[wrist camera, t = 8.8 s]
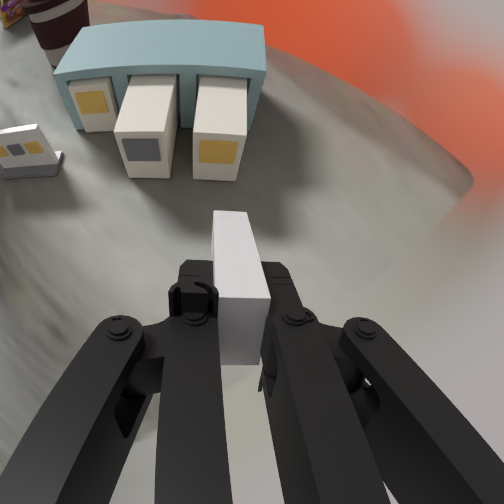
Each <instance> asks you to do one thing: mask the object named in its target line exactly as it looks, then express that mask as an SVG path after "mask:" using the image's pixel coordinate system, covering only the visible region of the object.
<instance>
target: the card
mask: <svg viewBox="0 0 504 504" xmlns="http://www.w3.org/2000/svg"><path fill="white" fill-rule="evenodd" d="M62 156H63V152H62V151H53V149H52V148H51V146H50V144H49V143H48V141H47V139H46V138H45V136H44V134H43V133H42V131H41V129H40V127H39V126H38V124H33V125H26V126H20V127H14V128H8V129H2V130H0V164H1V165H2V166H3V167H4V171H3V174H2V178H3V179H14V178H28V177H44V176H57V173H58V169H59V166H60V163H61V160H62Z"/></svg>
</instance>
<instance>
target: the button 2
mask: <svg viewBox="0 0 504 504" xmlns="http://www.w3.org/2000/svg"><path fill="white" fill-rule="evenodd" d="M246 137H247V78H244V77H233V76H219V75H201V78H200V85H199V91H198V98H197V105H196V113H195V120H194V128H193V179H200V180H220V181H236V177H237V173H238V169H239V165H240V161H241V157H242V153H243V149H244V145H245V141H246Z"/></svg>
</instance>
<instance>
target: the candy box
mask: <svg viewBox="0 0 504 504" xmlns="http://www.w3.org/2000/svg"><path fill="white" fill-rule="evenodd" d="M22 2H23V0H0V20H1V23H2V25H3V26H4V28H5V29H6V28H8V27H9V26H10V25H12V24H13V23H15V22H16V21H18V20H19V19H21V18H22V17H24V16H26V14H24V13H23V10H22V7H21V4H22Z"/></svg>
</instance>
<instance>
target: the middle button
mask: <svg viewBox="0 0 504 504" xmlns="http://www.w3.org/2000/svg"><path fill="white" fill-rule="evenodd" d="M179 114H180V74H134V75H132V77H131V80H130V83H129V85H128V88H127V91H126V94H125V97H124V100H123V103H122V106H121V109H120V112H119V115H118V119H117V122H116V125H115V129H114V135H115V138H116V141H117V144H118V147H119V150H120V153H121V156H122V159H123V162H124V165H125V168H126V170H127V173H128V176H129V178H170V174H171V166H172V159H173V152H174V145H175V138H176V132H177V126H178V120H179Z"/></svg>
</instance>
